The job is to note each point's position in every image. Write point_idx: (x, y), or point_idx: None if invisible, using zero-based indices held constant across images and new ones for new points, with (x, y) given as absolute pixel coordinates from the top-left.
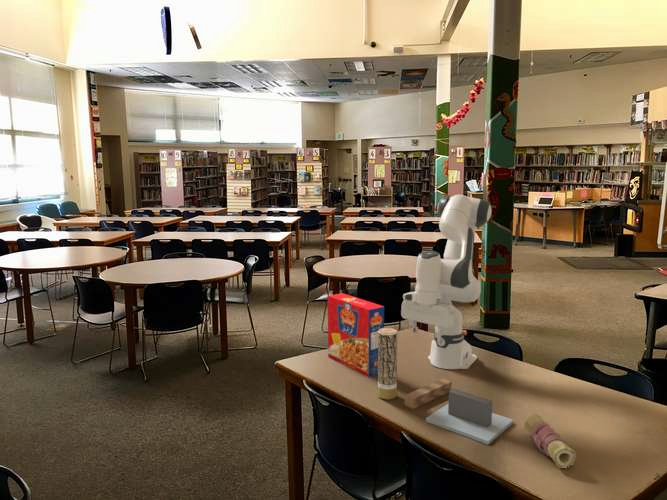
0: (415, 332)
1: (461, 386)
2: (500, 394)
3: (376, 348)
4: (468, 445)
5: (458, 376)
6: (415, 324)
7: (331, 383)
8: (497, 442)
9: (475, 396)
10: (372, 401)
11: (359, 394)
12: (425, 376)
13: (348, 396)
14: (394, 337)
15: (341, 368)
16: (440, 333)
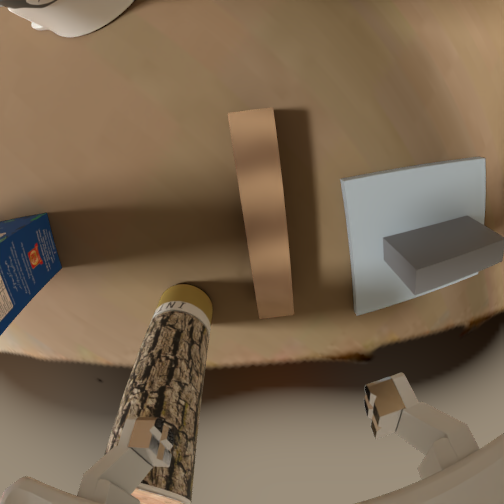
0: (172, 437)
1: (263, 54)
2: (379, 20)
3: (4, 282)
4: (451, 298)
5: (191, 7)
6: (115, 463)
7: (76, 349)
8: None
9: (475, 255)
10: None
11: None
12: (121, 106)
13: None
14: (190, 486)
15: None
16: (415, 403)
